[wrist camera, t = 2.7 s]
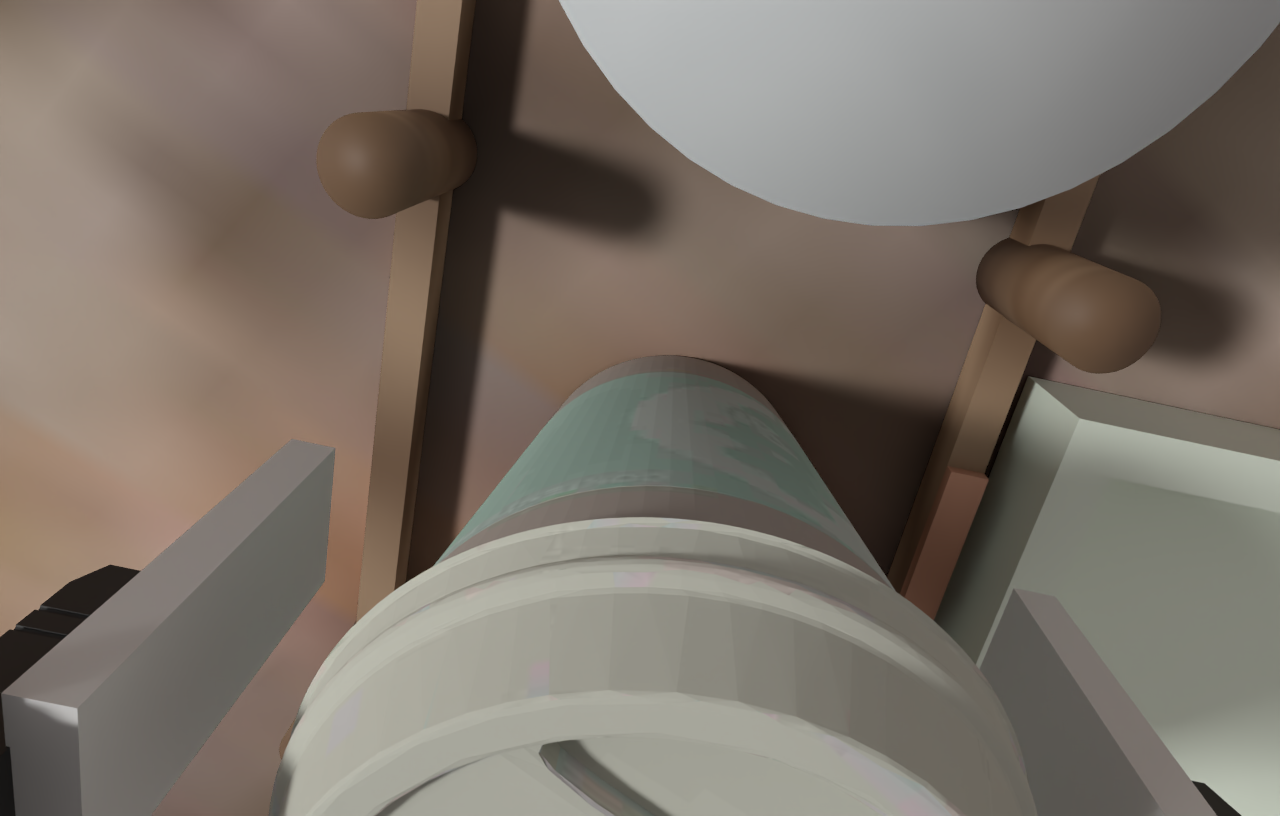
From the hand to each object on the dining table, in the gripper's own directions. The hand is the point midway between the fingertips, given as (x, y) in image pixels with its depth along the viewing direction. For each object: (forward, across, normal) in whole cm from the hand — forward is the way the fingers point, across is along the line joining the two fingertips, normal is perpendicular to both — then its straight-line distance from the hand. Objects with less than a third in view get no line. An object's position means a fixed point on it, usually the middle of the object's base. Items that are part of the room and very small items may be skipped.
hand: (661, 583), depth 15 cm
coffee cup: (+5, 0, 0) cm, 5 cm away
